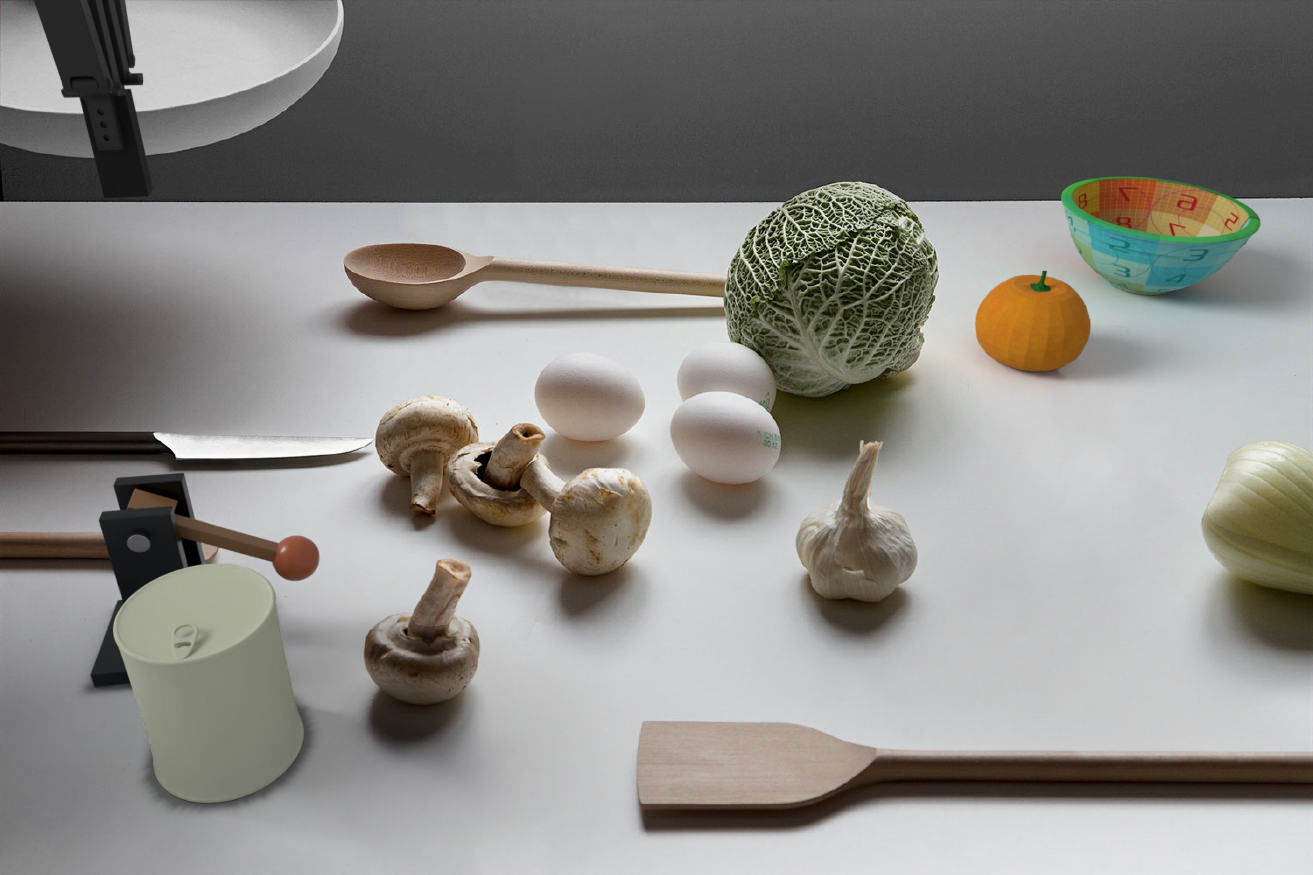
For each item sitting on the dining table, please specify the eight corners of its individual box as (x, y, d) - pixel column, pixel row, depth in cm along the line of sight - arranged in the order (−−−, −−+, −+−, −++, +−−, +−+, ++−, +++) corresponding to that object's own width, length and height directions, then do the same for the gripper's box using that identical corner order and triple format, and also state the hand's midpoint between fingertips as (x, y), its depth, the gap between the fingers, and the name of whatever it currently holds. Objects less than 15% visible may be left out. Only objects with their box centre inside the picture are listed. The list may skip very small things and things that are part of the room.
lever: (312, 567, 82) (327, 533, 81) (308, 595, 80) (324, 561, 78) (125, 515, 77) (138, 479, 76) (114, 543, 75) (127, 506, 74)
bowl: (1026, 295, 136) (1042, 216, 131) (1066, 237, 153) (1081, 164, 148) (1226, 338, 127) (1252, 255, 122) (1245, 270, 144) (1268, 195, 139)
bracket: (260, 599, 86) (230, 457, 79) (245, 672, 79) (211, 524, 72) (121, 612, 84) (78, 468, 78) (94, 687, 78) (44, 537, 71)
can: (139, 812, 69) (91, 664, 62) (170, 703, 76) (130, 562, 70) (296, 795, 70) (264, 648, 64) (311, 689, 78) (283, 550, 72)
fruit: (976, 326, 129) (992, 243, 124) (1084, 344, 125) (1104, 259, 120) (962, 371, 119) (978, 283, 114) (1078, 391, 116) (1100, 302, 111)
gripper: (71, -223, 56) (169, 227, 69) (130, -229, 67) (206, 160, 80) (-92, -225, 55) (37, 232, 68) (-5, -231, 66) (93, 164, 79)
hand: (128, 193), depth 74 cm, fingers closed
